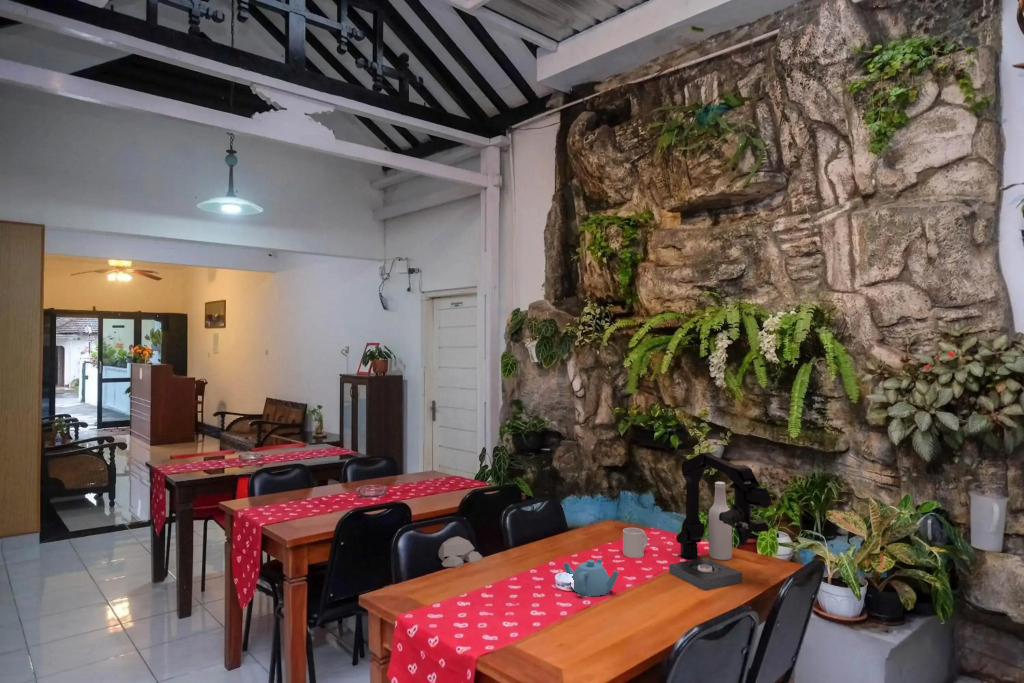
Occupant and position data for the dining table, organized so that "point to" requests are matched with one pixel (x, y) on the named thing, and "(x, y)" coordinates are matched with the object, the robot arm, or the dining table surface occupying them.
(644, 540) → the mug
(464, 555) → the rock
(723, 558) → the alcohol
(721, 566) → the dark grey square base
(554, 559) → the dining table surface
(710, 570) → the cap
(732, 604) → the dining table surface
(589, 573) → the teapot
